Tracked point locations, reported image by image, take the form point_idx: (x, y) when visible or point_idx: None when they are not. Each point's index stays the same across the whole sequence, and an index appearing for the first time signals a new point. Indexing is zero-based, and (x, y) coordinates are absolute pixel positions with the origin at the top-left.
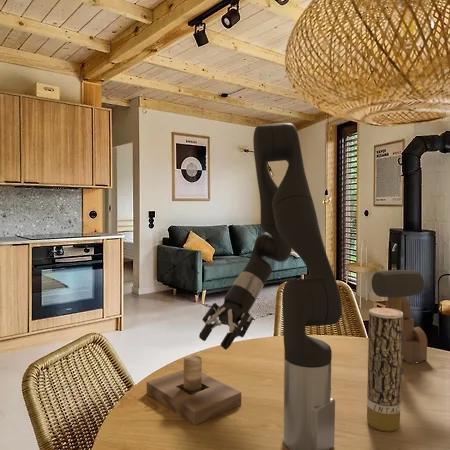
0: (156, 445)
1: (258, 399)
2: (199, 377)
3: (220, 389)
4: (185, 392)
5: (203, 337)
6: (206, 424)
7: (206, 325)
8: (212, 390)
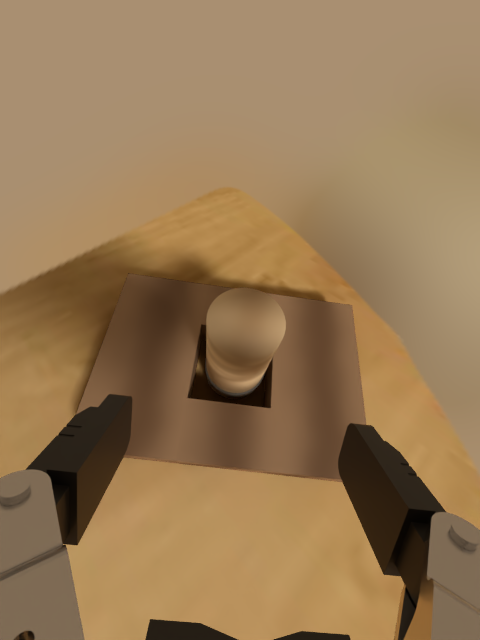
0: (153, 219)
1: None
2: (206, 352)
3: (145, 411)
4: None
5: (347, 451)
6: (114, 310)
7: (420, 503)
8: (164, 387)
